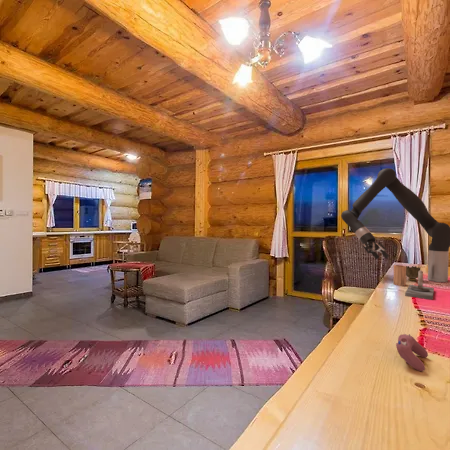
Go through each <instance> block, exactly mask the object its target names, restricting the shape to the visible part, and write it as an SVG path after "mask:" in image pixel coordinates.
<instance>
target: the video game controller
mask: <svg viewBox="0 0 450 450" xmlns="http://www.w3.org/2000/svg"><path fill="white" fill-rule="evenodd" d="M395 347H396V350H397V353H398V355H399V356H400V358H401V359H403V360H404V361H405V363H406V364H407V365H409V366H410V367H412V368H413V369H414V370H416V371H418V372H424V371H425V369H426V366H425V363H424V362H423V361H422V360H421V359H420V358H419V357H421V358H424V359H425V358H427V357H428V356H429V354H428V351H427V350H426V348H425V347H424V346H422V345H421V344H420V343H419V342H418V341H417V340H416V339H415V337H413V335H411V334H406V333H404V334H400V335H399V336H398V338H397V342H396V344H395ZM418 356H419V357H418Z"/></svg>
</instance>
